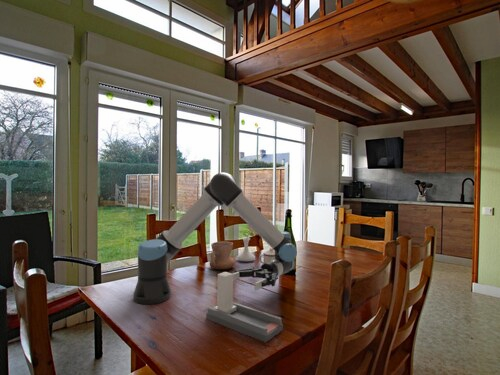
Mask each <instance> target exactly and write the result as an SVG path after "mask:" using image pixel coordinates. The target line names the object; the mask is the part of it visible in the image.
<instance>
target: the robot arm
mask: <svg viewBox="0 0 500 375" xmlns="http://www.w3.org/2000/svg"><path fill="white" fill-rule="evenodd" d="M223 205H224V206H226V207H227V208H231V209H232V210H233V211H234V212H235V213H236V214H237V215H238V216H239V217H240V218H241V219H242V220H243V221H244V222H245V223H246V224H247V226H248V225H249V226H250V227H251V228H252V229H253V230H254V231H255V232H254V233H256V234H257V235H258V236H259V237H260V238H261V239H262V240H264V242H265V243H266V244H267V245H268V246H270V248H272V249H273V250H274V251H275V260H272V261H269V262H267V263H264V264H263V263H261V265H260V267H258V268H255V267H254V266H251V267H248V268H240V269H234V270H233V271H234V272H233V273H232V274H233V282H234V281H237V280H239V279H240V278H254V279H255V278H258V279H260V280H259V281H256V282H254V290H255V291H258V290H259V289H262V288H265V287H267V286H268V287H270V286H272V287H275V285H276V284H277V283H276V281H277V280H278V279H279V276H283V275H284V274H288V273H289V272H290V271H292V270H293V269H294V268H295V259H296V258H297V256H298V255H297V254H298V251H297V247H296V245H294V244H293V243H292V238H291V235H292V234H291V233H290V232H288V231H280V230H279V229H278V228H277V226H275V225H274V224H273V223H272V222H271V221H270V220H269V219H268V218H267V217H266V216H265V215H264V214H263V212H261V210H260V209H259V208H257V207H256V205H254V204H253V203H252V201H250V199H248V197H246V196H245V195H244V190H243V189H242V187H240V186H239V185H238V183H237V180H236V178H235V177H234V176H233V175H232V174H230V173H228V172H218V173H216V174H215V175H213V176H212V177H211V179H210V182H209V183H207V185H206V186H205V187H204V188H203V193H202V195H201V196H199V198H198V199H197V200H196V201H195V202H194V203H193V204H192V205H191V206H190V207H189V208H188V210H187V211H186V212H184V213H183V214H182V216H181V217H180V218H179V219H178V220H177V221H176V222H175V223H174V224H173V225H172V226H171V227H170V228H169V230H168V229H167V230H163V231H162V232H161V233H160V234H159V235H158V236H157V237H156V238H154V239H148V240H144V241H143V242H141V243H140V244H138V246H137V283H136V285H135V288H134V292H133V295H132V298H133V302H134V303H136V302H137V303H136V304H139V303H140V305H153V304H154V305H155V303H156V304H160V303H163V302H165V301H168V300H169V299H170V298H171V297H172V288H171V286H170V283H169V280H168V263H169V262H170V261H171V260H172V259H173V258H174V257H175V255H176V254H178V253H179V251H180V250H181V249H182V248H183V243H184V241H185V240H186V239H187V238H189V236H190V235H191V234H192V233H193V232H194V231H195V230H196V229H197V228H198V227H199V226H200V225H201V223H203V221H204V220H206V218H208V216H209V215H210V214H211V213H212V212H213V211H214V210H215V209H216V208H217V207H223Z"/></svg>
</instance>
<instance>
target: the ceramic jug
mask: <svg viewBox="0 0 500 375" xmlns="http://www.w3.org/2000/svg"><path fill="white" fill-rule="evenodd" d="M210 245H211V250H212V251H211V253H210V261H209V266H210V268H213V269H214V270H219V271H220V270H221V271H225V270H229V269H232V268H233V267H234V266H235V264H236V261H235V259H234V258H233V257H231V253H232V252H233V248H234V247H233V246H234V243H233V242H231V241H215V242H212V243H211V244H210Z"/></svg>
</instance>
